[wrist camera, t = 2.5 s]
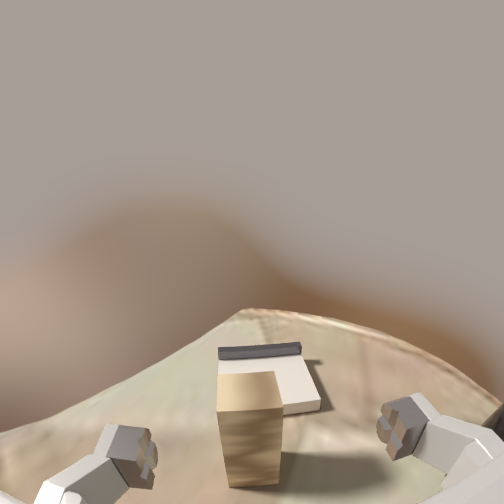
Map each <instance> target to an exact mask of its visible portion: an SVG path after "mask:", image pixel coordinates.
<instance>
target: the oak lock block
mask: <svg viewBox="0 0 504 504" xmlns="http://www.w3.org/2000/svg"><path fill="white" fill-rule="evenodd" d="M283 408H284V407H283V403H282V399H281V395H280V392H279V388H278V384H277V380H276V376H275V372H274V371H266V372H253V373H236V374H218V377H217V418H218V425H219V431H220V438H221V444H222V450H223V456H224V462H225V467H226V473H227V478H228V484H229V487H249V486H262V485H272V484H279V475H280V461H281V445H282V428H283Z"/></svg>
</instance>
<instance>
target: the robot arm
mask: <svg viewBox="0 0 504 504" xmlns="http://www.w3.org/2000/svg"><path fill="white" fill-rule="evenodd" d="M381 412H382V414H383V415H382V416H381V417H380V418H379V419H378V422H377V434H378V437H379V439H380V440H381V442H383V443H386V444H387V447H386V451H387V452H388V454H389V456H390V457H391V459H392V461H395V460H398V459H400V458H403V457H406V456H409V455H411V454H412V455H413V456H414V457H416V458H418V459H420V460H421V461H423V462H425V463H427V464H429V465H431V466H432V467H434V468H436V469H438V470H440V471H442V472H444V473H446V474H447V476H446V477H445V478H444V480H443V481H442V483H441V485H440V487H441V488H442V490H443V491H441V492H439V493H437V494H435V495H433V496H431V497H429V498H427V499H425V500H423V501H421V502H419V503H417V504H504V442H503V441H502V440H501V439H500V438H499V437H498V436H497V434H496V433H495V432H494V431H493V430H492V429H488V428H485V427H481V426H478V425H475V424H471V423H468V422H465V421H462V420H459V419H455V418H452V417H449V416H446V415H443V416H441V415H440V414H439V413H438V411H437V410H436V409H435V408H434V407H433V406H432V405H431V404H430V402H429V401H428V400H427V399H426V398H425V397H424V396H423V395H422V394H421V393H419V392H418V393H415V394H412V395H409V396H406V397H403V398H400V399H396V400H393V401H390V402H387V403H384V404H383V406H382V408H381ZM150 439H151V433H150V431H149V429H147V428H139V427H131V426H123V425H114V424H107V425H106V426H105V427H104V429H103V432H102V434H101V436H100V438H99V441H98V443H97V445H96V448H95V450H94V453H93V455H91V454H89V455H87V456H85V457H84V458H82V459H81V460H79V461H78V462H76V463H74V464H73V465H71V466H69V467H68V468H66V469H65V470H63V471H61V472H60V473H58V474H56V475H55V476H53V477H51V478H49V479H48V480H46V481H44V483H43V485H42V487H41V489H40V491H39V494H38V496H37V498H36V500H35V502H34V504H114V503H115V502H116V501H117V500H118V499H119V498H120V497H121V496H122V495H123V494H124V493H125V492H126V491H127V490H128V489H129V487H131V488H140V489H150V490H152V488H153V483H154V477H155V475H154V473H153V471H152V470H153V469H154V468H155V467H157V461H158V453H157V448H156V445H155V443H154V442H152V441H151V440H150ZM0 504H26V503H24V502H22V501H20V500H18V499H16V498H14V497H12V496H10V495H8V494H6V493H5V492H3V491H1V490H0Z"/></svg>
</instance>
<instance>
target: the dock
mask: <svg viewBox="0 0 504 504" xmlns="http://www.w3.org/2000/svg"><path fill="white" fill-rule="evenodd" d="M301 349H302V346H301V344H300V342H292V343H281V344H269V345H255V346H238V347H218V356H219V373H218V374H236V373H253V372H266V371H274V372H275V376H276V380H277V384H278V388H279V392H280V395H281V399H282V403H283V407H284V408H283V415H288V414H296V413H303V412H310V411H316V410H319V409H320V402H321V398H320V396H319V394H318V391H317V389H316V387H315V385H314V382H313V380H312V378H311V375H310V373H309V371H308V369H307V366H306V364H305V362H304V359H303V357H302V355H301Z"/></svg>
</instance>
